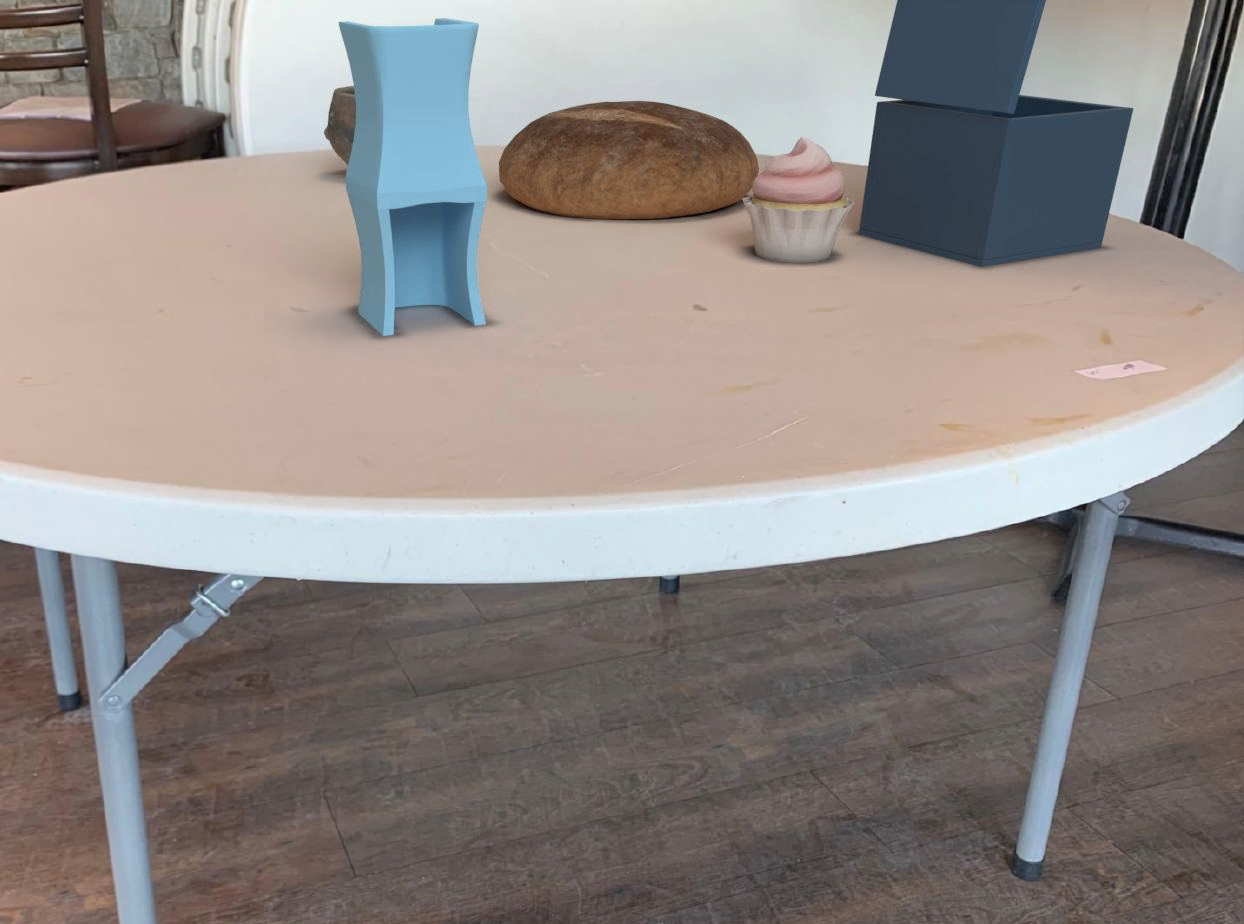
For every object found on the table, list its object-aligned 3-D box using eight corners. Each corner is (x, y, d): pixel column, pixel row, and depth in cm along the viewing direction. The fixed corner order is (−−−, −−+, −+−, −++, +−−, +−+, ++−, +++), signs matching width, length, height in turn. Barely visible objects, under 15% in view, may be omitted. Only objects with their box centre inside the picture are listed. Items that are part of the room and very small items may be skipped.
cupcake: (719, 249, 110) (729, 131, 105) (813, 242, 112) (827, 126, 107) (767, 273, 102) (780, 147, 97) (867, 265, 104) (885, 141, 99)
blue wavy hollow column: (450, 300, 95) (446, 18, 85) (487, 327, 88) (486, 24, 79) (352, 311, 92) (337, 21, 83) (382, 339, 86) (370, 27, 77)
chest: (971, 221, 119) (994, 91, 114) (1100, 250, 108) (1133, 108, 102) (857, 237, 113) (876, 101, 108) (981, 269, 102) (1009, 120, 96)
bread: (666, 237, 114) (674, 126, 109) (451, 204, 129) (450, 105, 125) (797, 196, 131) (808, 99, 127) (593, 171, 147) (596, 83, 142)
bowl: (454, 187, 138) (452, 93, 133) (318, 189, 138) (312, 94, 134) (455, 167, 151) (454, 80, 146) (331, 168, 151) (326, 81, 146)
